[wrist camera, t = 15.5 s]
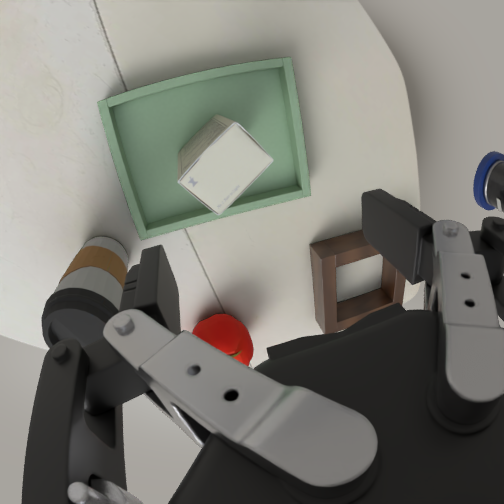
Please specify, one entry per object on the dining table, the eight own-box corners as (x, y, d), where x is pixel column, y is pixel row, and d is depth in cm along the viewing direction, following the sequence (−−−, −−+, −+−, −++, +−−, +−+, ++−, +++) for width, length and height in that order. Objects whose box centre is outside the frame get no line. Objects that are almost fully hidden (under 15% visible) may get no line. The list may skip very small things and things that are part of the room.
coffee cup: (104, 295, 40) (85, 381, 27) (62, 252, 36) (21, 330, 23) (149, 262, 39) (142, 348, 26) (106, 213, 35) (73, 286, 22)
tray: (283, 58, 31) (291, 56, 28) (302, 188, 39) (311, 195, 36) (103, 101, 29) (96, 102, 26) (142, 230, 37) (140, 240, 34)
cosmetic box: (205, 178, 35) (217, 220, 24) (175, 152, 33) (173, 183, 22) (245, 137, 34) (277, 162, 23) (216, 110, 31) (235, 120, 21)
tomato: (240, 351, 50) (250, 387, 43) (184, 349, 47) (188, 386, 41) (254, 305, 46) (267, 341, 39) (192, 301, 43) (196, 339, 37)
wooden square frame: (394, 220, 44) (410, 231, 41) (389, 293, 51) (401, 307, 48) (309, 244, 43) (320, 258, 39) (315, 319, 50) (325, 336, 47)
